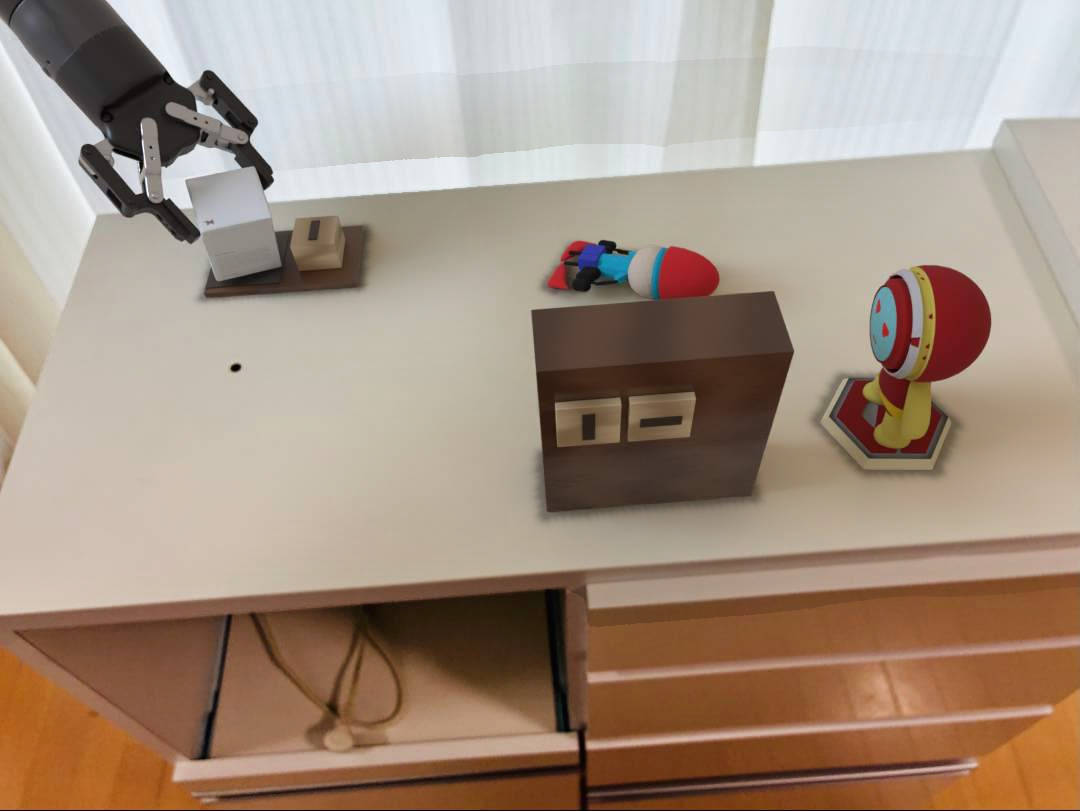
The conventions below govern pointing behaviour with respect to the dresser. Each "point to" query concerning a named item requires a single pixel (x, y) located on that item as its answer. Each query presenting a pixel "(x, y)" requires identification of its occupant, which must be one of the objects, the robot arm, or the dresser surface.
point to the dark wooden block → (657, 398)
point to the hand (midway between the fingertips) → (233, 211)
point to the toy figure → (639, 270)
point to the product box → (234, 222)
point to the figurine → (910, 368)
